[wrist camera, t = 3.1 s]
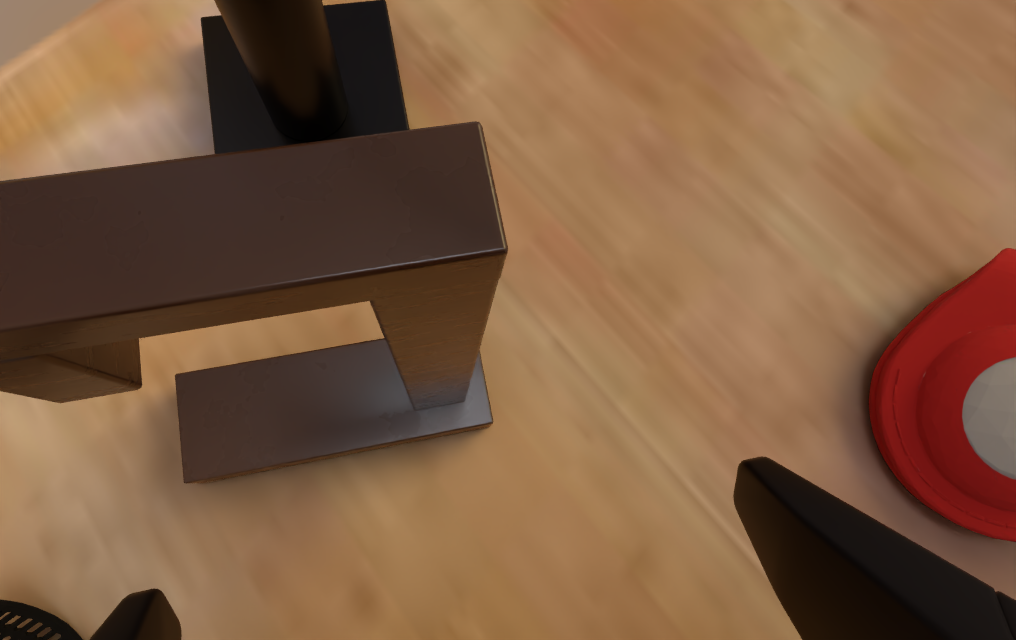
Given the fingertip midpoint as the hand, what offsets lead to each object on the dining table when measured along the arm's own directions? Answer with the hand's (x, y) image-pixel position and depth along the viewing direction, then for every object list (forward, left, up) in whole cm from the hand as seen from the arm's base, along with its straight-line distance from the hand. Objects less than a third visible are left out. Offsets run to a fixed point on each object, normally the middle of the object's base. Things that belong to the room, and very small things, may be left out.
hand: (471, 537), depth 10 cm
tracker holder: (+7, -18, -11) cm, 22 cm away
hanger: (+2, +4, -10) cm, 12 cm away
